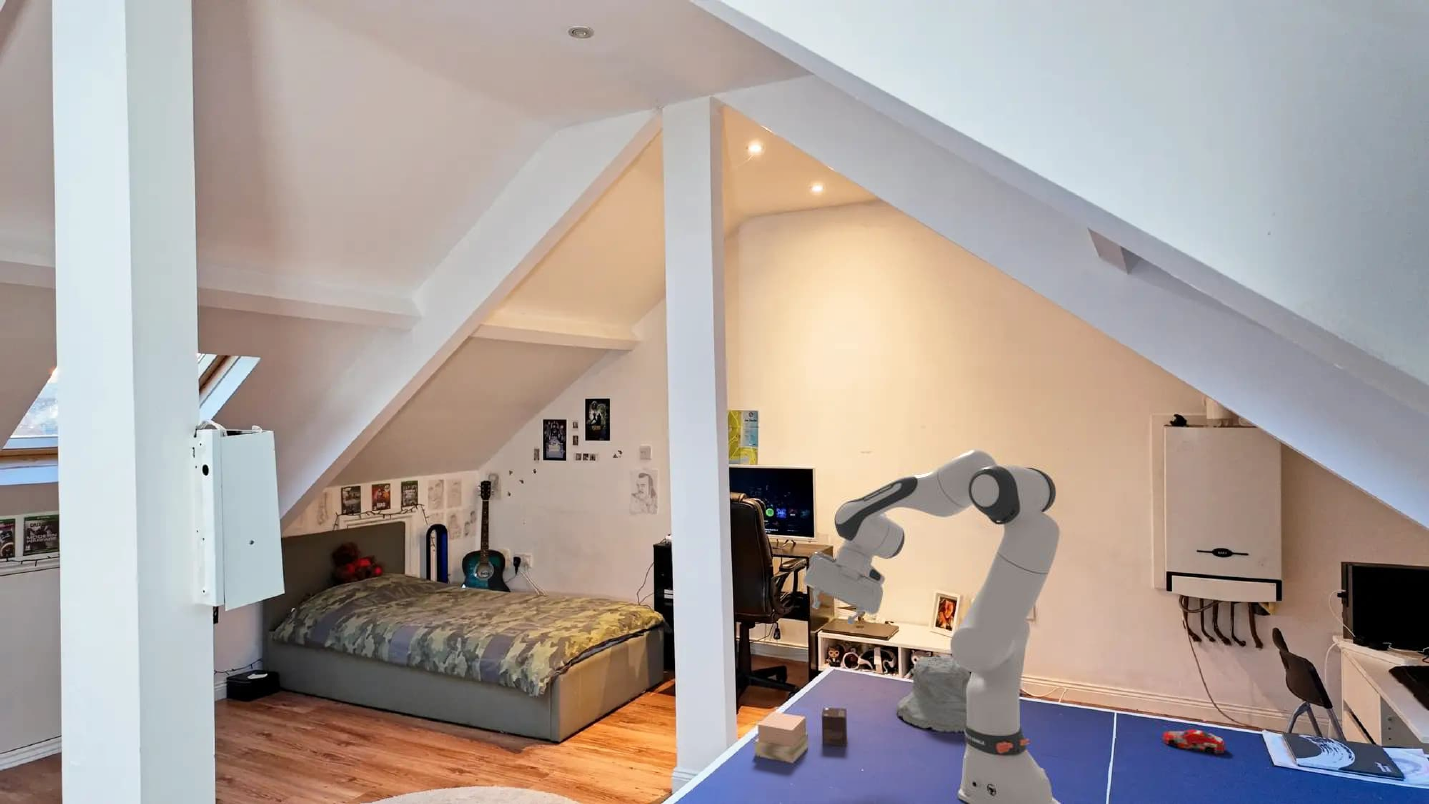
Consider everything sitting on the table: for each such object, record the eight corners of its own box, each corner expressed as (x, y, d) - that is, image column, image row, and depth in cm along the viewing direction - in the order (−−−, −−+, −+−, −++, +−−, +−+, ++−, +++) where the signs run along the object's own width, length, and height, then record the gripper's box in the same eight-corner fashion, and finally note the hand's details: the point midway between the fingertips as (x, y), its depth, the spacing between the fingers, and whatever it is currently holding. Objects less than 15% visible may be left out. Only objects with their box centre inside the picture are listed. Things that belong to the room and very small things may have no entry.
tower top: (806, 733, 208) (805, 717, 208) (792, 747, 200) (792, 730, 200) (772, 727, 212) (772, 711, 212) (758, 740, 204) (758, 724, 204)
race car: (1161, 746, 205) (1161, 729, 205) (1164, 738, 209) (1163, 722, 209) (1224, 757, 198) (1223, 740, 198) (1225, 749, 202) (1225, 733, 202)
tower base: (808, 748, 208) (807, 732, 208) (792, 764, 199) (792, 748, 199) (771, 742, 213) (771, 726, 213) (754, 757, 204) (754, 741, 204)
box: (846, 746, 208) (845, 717, 208) (822, 745, 209) (821, 716, 209) (847, 736, 214) (846, 708, 214) (823, 735, 215) (823, 707, 215)
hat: (892, 728, 219) (891, 671, 219) (899, 697, 241) (898, 645, 241) (996, 737, 212) (995, 678, 212) (993, 705, 234) (992, 651, 234)
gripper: (816, 546, 213) (796, 596, 209) (891, 580, 211) (872, 632, 207) (812, 551, 219) (792, 599, 214) (884, 584, 217) (866, 634, 213)
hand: (832, 616), depth 211 cm, fingers open, 8 cm apart
